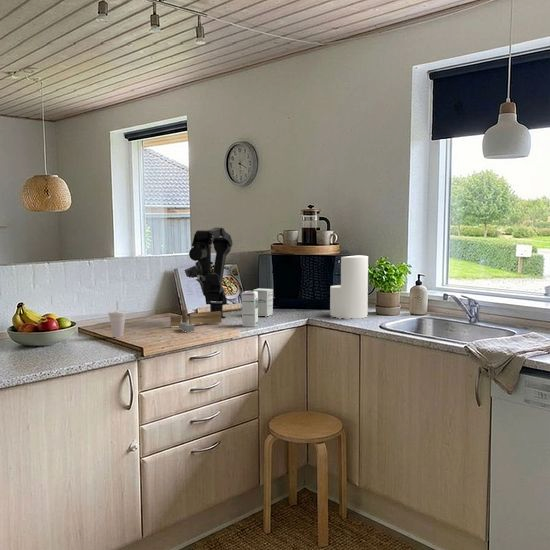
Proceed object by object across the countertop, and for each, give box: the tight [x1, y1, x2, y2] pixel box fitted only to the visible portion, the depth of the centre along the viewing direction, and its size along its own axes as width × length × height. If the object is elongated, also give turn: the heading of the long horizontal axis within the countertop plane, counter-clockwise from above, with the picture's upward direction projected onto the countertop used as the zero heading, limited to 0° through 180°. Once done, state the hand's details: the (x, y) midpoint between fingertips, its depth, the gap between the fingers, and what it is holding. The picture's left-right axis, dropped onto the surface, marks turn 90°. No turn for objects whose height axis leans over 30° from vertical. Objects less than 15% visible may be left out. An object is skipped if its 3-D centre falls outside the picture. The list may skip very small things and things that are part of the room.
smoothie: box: [108, 300, 127, 338], centre depth 212 cm, size 6×6×14 cm
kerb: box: [178, 321, 195, 333], centre depth 226 cm, size 9×3×3 cm, turn 29°
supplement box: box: [252, 287, 274, 318], centre depth 264 cm, size 7×7×13 cm
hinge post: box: [170, 309, 189, 327], centre depth 234 cm, size 2×7×7 cm, turn 119°
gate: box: [188, 311, 223, 325], centre depth 239 cm, size 2×14×5 cm, turn 119°
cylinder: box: [329, 255, 369, 319], centre depth 261 cm, size 17×17×28 cm
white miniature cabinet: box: [241, 290, 259, 328], centre depth 237 cm, size 6×6×14 cm
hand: (204, 295), depth 244 cm, fingers closed
